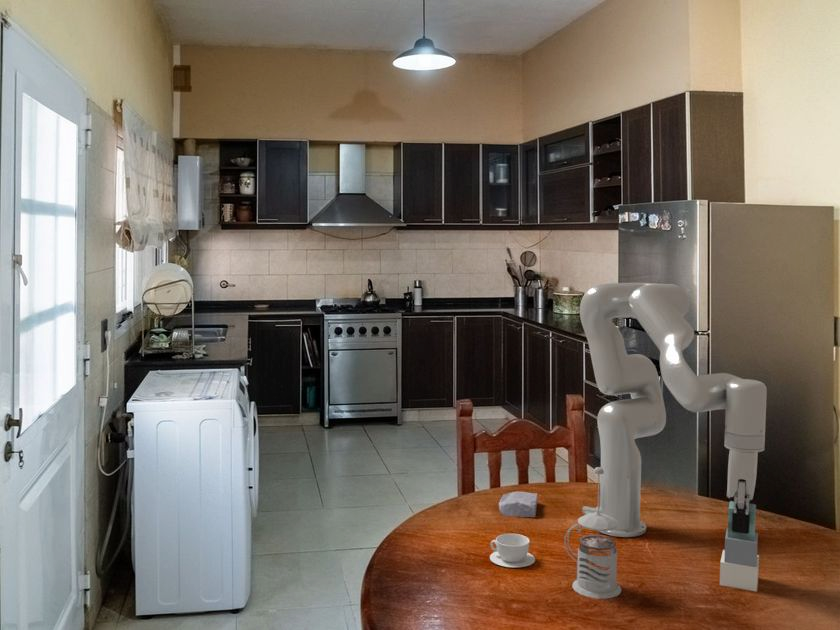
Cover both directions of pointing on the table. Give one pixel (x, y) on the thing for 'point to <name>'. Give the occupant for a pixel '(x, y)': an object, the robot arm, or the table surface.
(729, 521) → the teal pillar
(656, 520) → the table surface
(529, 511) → the stone block
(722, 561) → the block
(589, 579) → the french press
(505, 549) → the teacup
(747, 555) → the tower top
